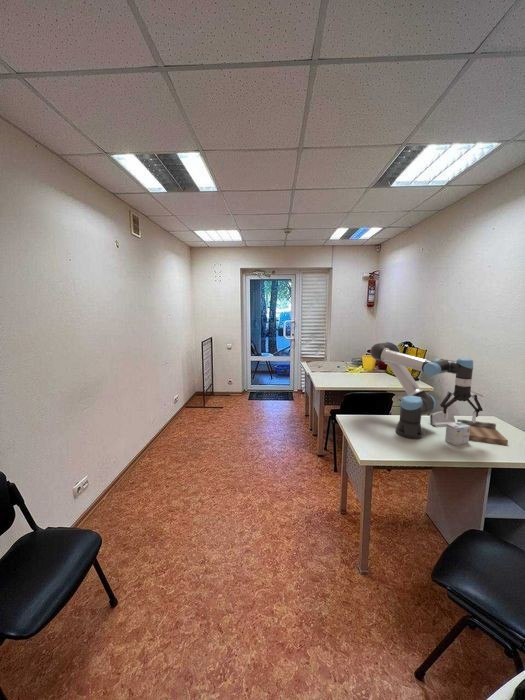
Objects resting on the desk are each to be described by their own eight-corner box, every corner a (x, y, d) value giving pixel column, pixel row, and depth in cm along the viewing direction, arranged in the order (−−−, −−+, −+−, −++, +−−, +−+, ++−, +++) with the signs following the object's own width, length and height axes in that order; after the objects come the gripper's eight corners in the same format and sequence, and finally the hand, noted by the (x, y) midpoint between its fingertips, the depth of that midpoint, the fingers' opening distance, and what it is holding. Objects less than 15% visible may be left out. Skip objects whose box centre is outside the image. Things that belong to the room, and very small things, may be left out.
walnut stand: (465, 439, 164) (466, 430, 163) (456, 427, 180) (457, 419, 180) (507, 445, 157) (508, 435, 156) (493, 432, 173) (494, 423, 172)
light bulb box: (458, 438, 166) (459, 421, 164) (469, 443, 159) (471, 425, 158) (444, 440, 163) (446, 423, 161) (454, 445, 157) (456, 428, 155)
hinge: (435, 427, 181) (432, 412, 183) (430, 426, 185) (427, 411, 187) (458, 426, 183) (455, 410, 185) (452, 425, 187) (449, 410, 189)
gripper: (439, 384, 157) (436, 419, 160) (492, 388, 148) (488, 425, 151) (436, 381, 164) (433, 415, 167) (486, 385, 155) (483, 420, 158)
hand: (459, 420), depth 159 cm, fingers open, 13 cm apart
